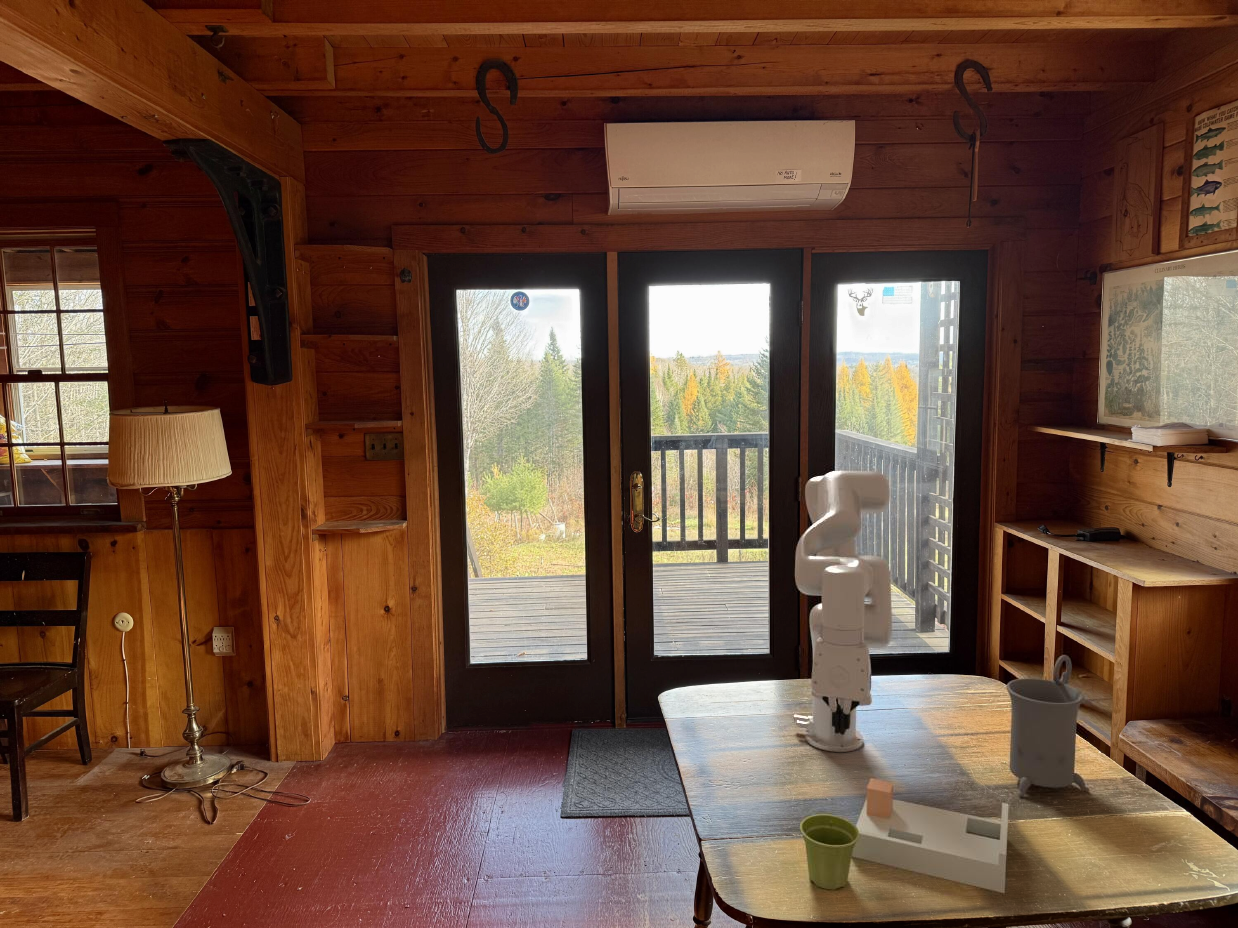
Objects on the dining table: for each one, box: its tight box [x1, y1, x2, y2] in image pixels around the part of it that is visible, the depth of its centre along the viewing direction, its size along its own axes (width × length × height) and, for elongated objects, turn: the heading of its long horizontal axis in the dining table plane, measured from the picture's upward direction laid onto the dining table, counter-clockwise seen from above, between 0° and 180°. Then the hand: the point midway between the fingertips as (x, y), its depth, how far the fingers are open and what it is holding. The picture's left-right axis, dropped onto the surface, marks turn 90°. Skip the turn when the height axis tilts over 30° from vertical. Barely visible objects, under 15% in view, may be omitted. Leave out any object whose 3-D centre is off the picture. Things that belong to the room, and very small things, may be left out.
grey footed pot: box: [1005, 654, 1090, 798], centre depth 165 cm, size 19×15×25 cm
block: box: [866, 778, 894, 819], centre depth 151 cm, size 4×4×5 cm
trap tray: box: [851, 797, 1009, 894], centre depth 144 cm, size 24×17×6 cm
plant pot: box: [799, 813, 859, 891], centre depth 136 cm, size 9×9×9 cm
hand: (840, 730), depth 153 cm, fingers closed
